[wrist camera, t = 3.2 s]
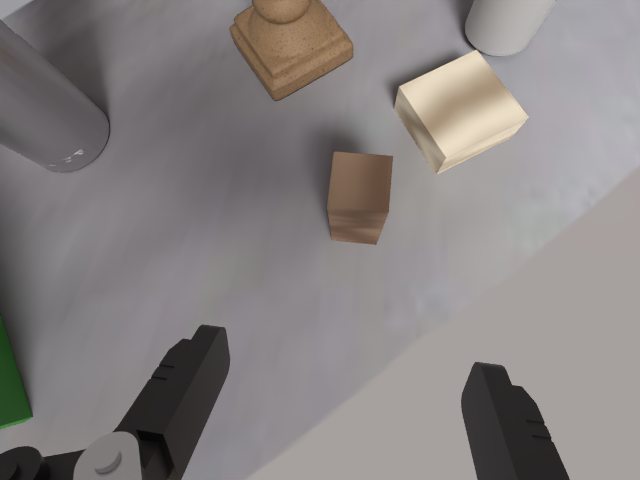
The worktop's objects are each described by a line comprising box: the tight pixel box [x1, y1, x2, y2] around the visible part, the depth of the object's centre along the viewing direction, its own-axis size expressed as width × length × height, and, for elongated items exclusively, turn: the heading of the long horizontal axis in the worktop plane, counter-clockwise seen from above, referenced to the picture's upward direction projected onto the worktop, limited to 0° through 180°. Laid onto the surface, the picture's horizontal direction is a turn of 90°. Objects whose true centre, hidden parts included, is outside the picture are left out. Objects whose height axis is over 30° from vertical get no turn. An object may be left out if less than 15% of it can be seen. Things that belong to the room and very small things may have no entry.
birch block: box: [394, 50, 529, 174], centre depth 35 cm, size 9×9×4 cm
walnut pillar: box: [327, 152, 393, 245], centre depth 30 cm, size 4×4×10 cm
